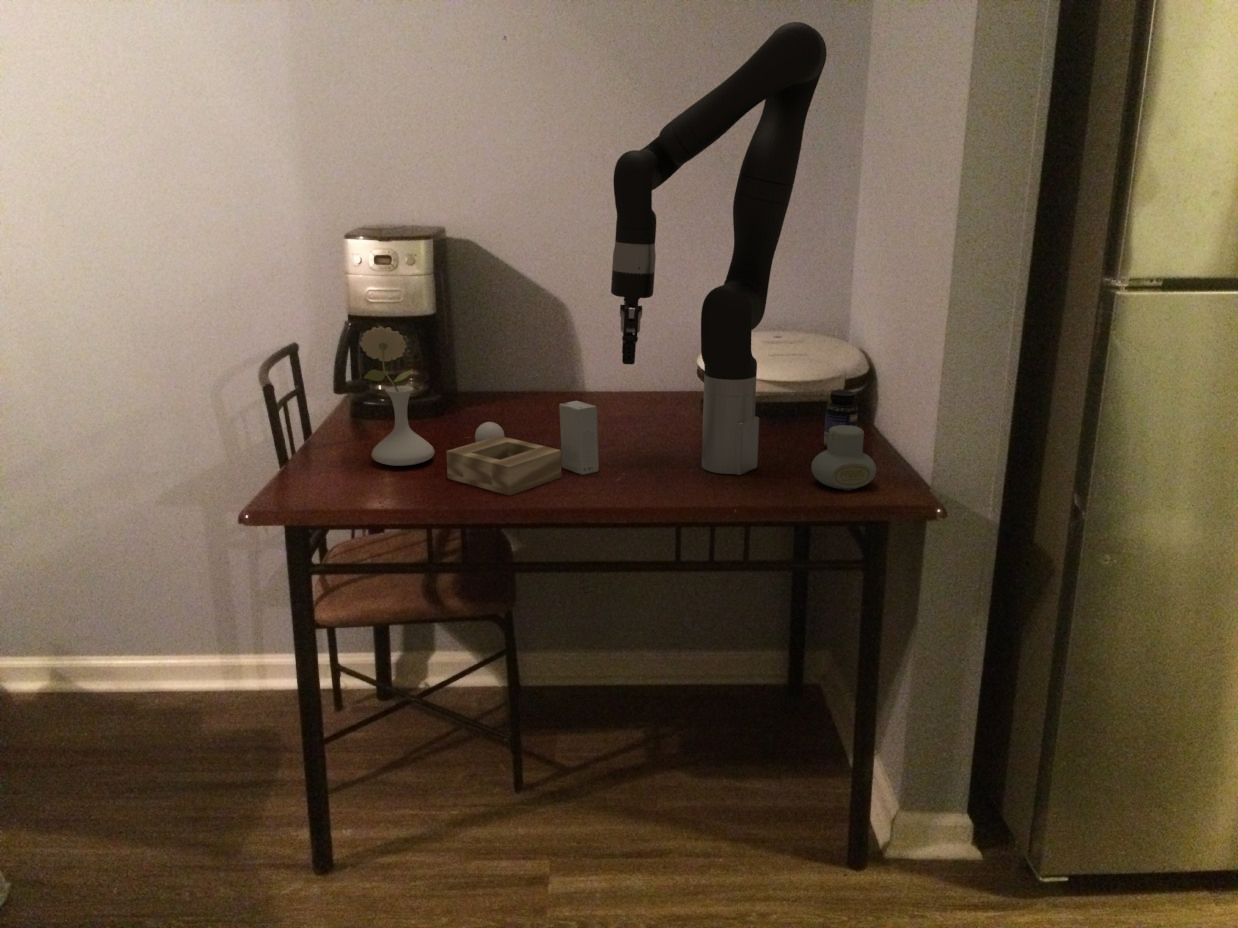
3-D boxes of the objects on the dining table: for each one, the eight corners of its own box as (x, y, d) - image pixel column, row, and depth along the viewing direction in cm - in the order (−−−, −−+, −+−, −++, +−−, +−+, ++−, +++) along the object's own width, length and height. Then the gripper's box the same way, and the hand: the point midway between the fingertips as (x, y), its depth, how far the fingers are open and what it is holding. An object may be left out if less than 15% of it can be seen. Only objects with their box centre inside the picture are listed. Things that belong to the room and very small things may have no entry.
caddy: (561, 477, 179) (560, 450, 178) (509, 495, 170) (508, 467, 168) (499, 461, 188) (499, 435, 187) (447, 478, 178) (446, 451, 177)
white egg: (504, 446, 199) (503, 418, 197) (505, 454, 193) (504, 425, 192) (464, 447, 197) (463, 419, 196) (464, 455, 192) (463, 426, 190)
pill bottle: (853, 453, 195) (857, 397, 192) (821, 450, 197) (824, 394, 194) (856, 445, 201) (861, 390, 197) (825, 442, 202) (829, 388, 199)
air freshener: (863, 476, 181) (868, 422, 178) (881, 491, 173) (886, 434, 170) (804, 479, 180) (807, 424, 177) (819, 493, 172) (823, 436, 169)
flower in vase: (445, 456, 192) (439, 323, 184) (418, 473, 181) (410, 333, 174) (382, 450, 195) (374, 320, 188) (352, 467, 185) (342, 330, 177)
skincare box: (599, 471, 183) (599, 405, 179) (579, 476, 180) (579, 409, 177) (579, 463, 188) (578, 399, 184) (559, 468, 185) (558, 403, 181)
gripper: (656, 275, 173) (649, 368, 178) (653, 265, 186) (647, 352, 191) (612, 272, 173) (606, 366, 178) (612, 262, 186) (607, 350, 191)
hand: (628, 359), depth 184 cm, fingers open, 8 cm apart
